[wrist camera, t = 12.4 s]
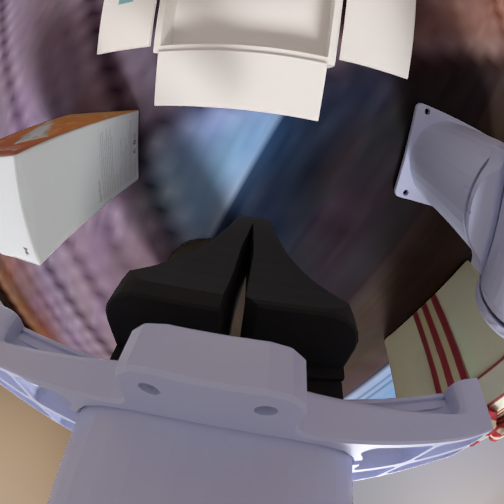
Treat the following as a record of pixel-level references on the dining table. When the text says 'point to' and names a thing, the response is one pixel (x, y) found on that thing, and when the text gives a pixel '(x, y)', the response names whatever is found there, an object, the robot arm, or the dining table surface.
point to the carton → (246, 54)
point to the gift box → (450, 348)
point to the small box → (62, 178)
